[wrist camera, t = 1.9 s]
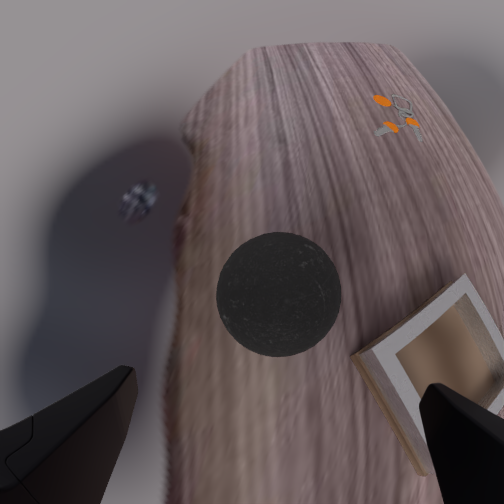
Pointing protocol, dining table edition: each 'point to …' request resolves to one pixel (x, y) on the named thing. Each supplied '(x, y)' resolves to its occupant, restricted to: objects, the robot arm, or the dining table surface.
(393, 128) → the key chain
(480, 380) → the socket board
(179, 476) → the dining table surface
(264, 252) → the light bulb
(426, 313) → the socket collar
